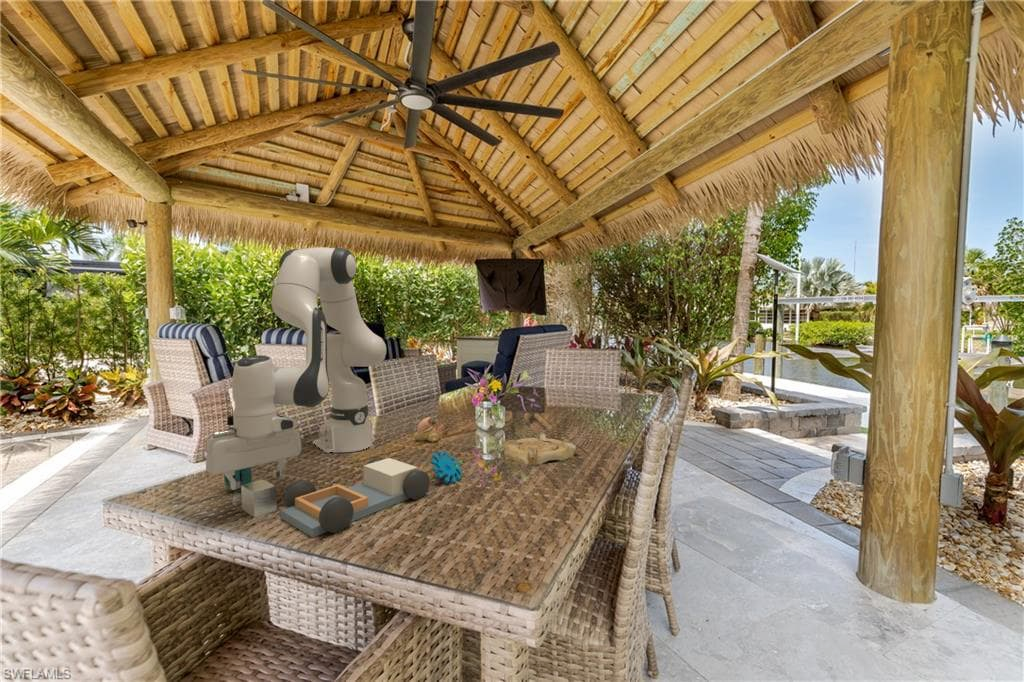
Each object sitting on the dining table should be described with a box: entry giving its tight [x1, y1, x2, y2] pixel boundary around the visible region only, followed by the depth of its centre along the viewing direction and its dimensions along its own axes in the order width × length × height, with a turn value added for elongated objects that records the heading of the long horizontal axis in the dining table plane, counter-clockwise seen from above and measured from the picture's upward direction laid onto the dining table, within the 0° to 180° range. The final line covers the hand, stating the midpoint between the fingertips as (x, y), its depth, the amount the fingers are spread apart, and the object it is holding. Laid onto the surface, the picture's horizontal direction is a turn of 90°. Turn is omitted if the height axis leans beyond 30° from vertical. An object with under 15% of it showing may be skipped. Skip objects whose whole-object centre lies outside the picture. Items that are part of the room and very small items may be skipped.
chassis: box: [280, 456, 431, 539], centre depth 114 cm, size 18×32×7 cm, turn 141°
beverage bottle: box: [223, 414, 253, 489], centre depth 123 cm, size 6×7×20 cm
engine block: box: [240, 478, 278, 518], centre depth 111 cm, size 7×5×6 cm
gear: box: [430, 450, 463, 484], centre depth 132 cm, size 11×6×10 cm
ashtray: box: [501, 432, 578, 466], centre depth 154 cm, size 24×24×5 cm
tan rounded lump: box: [412, 416, 441, 443], centre depth 168 cm, size 9×10×10 cm
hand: (257, 482), depth 111 cm, fingers open, 8 cm apart
